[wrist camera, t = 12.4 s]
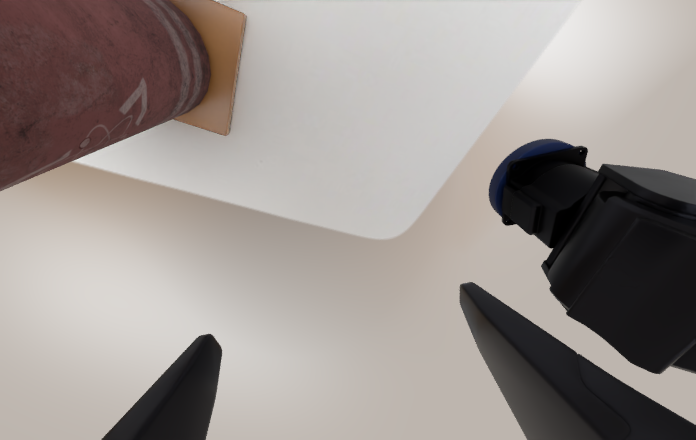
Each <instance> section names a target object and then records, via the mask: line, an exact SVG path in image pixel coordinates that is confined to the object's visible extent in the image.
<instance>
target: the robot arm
mask: <svg viewBox="0 0 696 440" xmlns="http://www.w3.org/2000/svg"><path fill="white" fill-rule="evenodd" d="M580 151H581V152H580ZM579 152H580V153H579ZM587 153H588V149H587V148H586V147H584V146H576V147H571V148H567V149H562V150H557V151H553V152H548V153H543V154H539V155H534V156H530V157H525V158H520V159H516V160H512V161H510V162H509V163H508V165H507V172H506V182H505V186H504V190H503V200H502V211H503V212H502V223H503V224H504V225H506V226H510V225H515V224H517V225H519V226H520V227H521V228H522V229H523V230H524V231H525V232H526V233H528V234H529V235H533V234H534V235H535V236H536V237H537V238H538V239H540V240H541V241H542V242H543V243H544V244H545V245H547V246H548V247H549V248H553V250H552V252H551V253H550V255H549V257H548V258H547V260H545V261H544V262H543V264H542V265H541V267H542V269H543V271H544V273H545V274H546V277H547V279H548V280H549V282H550V284H551V287H550V291H551V293H552V294H553V295H554V296H555V297H556V299H557V300H558V301H559V302H560V303H561V304H562V306H563V307H564V308H565V309H566V310H567V312H566V314H567V315H568V316H569V317H571V318H573V319H575V320H576V321H578V322H580V323H582V324H584V325H585V326H587V327H588V328H590V329H591V330H592V331H594V332H595V333H597V334H598V335H600V336H601V337H602V338H603V339H605V340H606V341H607V342H608V343H609V344H610V345H611V346H612V347H614V348H615V349H616V350H617V351H618V352H619V353H620V354H621V355H622V356H624V357H625V358H626V359H627V360H628V361H629V362H630V363H632V364H634V365H636V366H638V367H641V368H643V369H645V370H647V371H649V372H652V373H655V374H661V373H662V372H664V371H665V370H666V369H667V368H668V367H669V366H672V367H675V368H678V369H682V370H685V371H689V372H692V373H695V374H696V179H693V178H689V177H686V176H682V175H679V174H675V173H671V172H668V171H665V170H658V169H649V168H639V167H629V166H620V165H610V164H602V166H601V168H600V169H599V171H598V172H597V171H595V170H593V169H590V168H588V167H586V166H584V165H585V161H586V157H587ZM515 164H516V166H515V167H514V168H513V166H514V165H515ZM507 220H508V221H507ZM460 305H461V308H462V310H463V313H464V315H465V317H466V320H467V322H468V325H469V327H470V329H471V332H472V335H473V337H474V339H475V342H476V344H477V347H478V349H479V351H480V353H481V355H482V357H483V358H484V360H485V362H486V364H487V366H488V368H489V370H490V371H491V373H492V375H493V377H494V379H495V381H496V383H497V384H498V386H499V388H500V390H501V392H502V394H503V395H504V397H505V399H506V401H507V403H508V405H509V407H510V408H511V410H512V412H513V414H514V416H515V418H516V419H517V421H518V423H519V425H520V427H521V429H522V431H523V432H524V434H525V436H526V438H527V440H696V425H694V424H693V423H691V422H689V421H688V420H686V419H684V418H682V417H681V416H679V415H677V414H676V413H674V412H672V411H671V410H669V409H667V408H665V407H664V406H662V405H660V404H659V403H657V402H655V401H653V400H652V399H650V398H648V397H647V396H645V395H643V394H641V393H640V392H638V391H636V390H634V389H633V388H631V387H630V386H628V385H626V384H625V383H623V382H621V381H620V380H618V379H616V378H615V377H613V376H612V375H610V374H609V373H607V372H606V371H604V370H603V369H601V368H600V367H598V366H596V365H595V364H593V363H592V362H590V361H589V360H587V359H586V358H584V357H583V356H582V355H580V354H577V353H576V352H575V351H574V350H572V349H571V348H569V347H568V346H567V345H565V344H564V343H562V342H561V341H559V340H558V339H556V338H554V337H553V336H552V335H550V334H549V333H547V332H546V331H544V330H543V329H541V328H540V327H538V326H537V325H535V324H534V323H532V322H531V321H529V320H528V319H527V318H525V317H523V316H522V315H520V314H519V313H518V312H516V311H515V310H513V309H512V308H510V307H509V306H507V305H506V304H504V303H503V302H501V301H500V300H498V299H497V298H495V297H494V296H492V295H491V294H489V293H488V292H486V291H485V290H483V289H482V288H481V287H479V286H478V285H476V284H475V283H473V282H469V283H464V284H461V285H460ZM221 357H222V349H221V346H220V345H219V343H218V342H217V341H216V339H215V338H214V337H213V335H211V334H206V335H201V336H199V337H198V338H196V340H195V341H194V342H193V343H192V344H191V345H190V346H189V347H188V348H187V349H186V350H185V352H183V353H182V354H181V355H180V357H179V358H178V359H177V360H176V361H175V362H174V363H173V364H172V365H171V366H170V367H169V368H168V369H167V370H166V371H165V372H164V374H163V375H162V376H161V377H160V378H159V379H158V380H157V381H156V382H155V383H154V384H153V385H152V387H151V388H149V389H148V391H147V392H146V393H145V394H144V395H143V396H142V397H141V398H140V399H139V400H138V401H137V402H136V403H135V404H134V405H133V407H132V408H131V409H130V410H129V411H128V412H127V413H126V414H125V415H124V416H123V417H122V418H121V419H120V420H119V422H118V423H117V424H116V425H115V426H114V427H113V428H112V429H111V430H110V431H109V432H108V433H107V434H106V435H105V436H104V438H102V440H206V436H207V431H208V427H209V423H210V419H211V415H212V411H213V407H214V402H215V397H216V392H217V385H218V378H219V371H220V363H221Z"/></svg>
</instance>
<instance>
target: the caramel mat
mask: <svg viewBox="0 0 696 440" xmlns="http://www.w3.org/2000/svg"><path fill="white" fill-rule="evenodd" d="M169 1H171V2H172V3H173V4H174V5H175V6H176V7H177V8H179V9H180V10H181V11H182V12H183V13H184V14H185V15H187V17H188V18H189V19H190V21H191V22H192V24H193V25H194V26H195V28H196V29H197V31H198V32H199V33H200V35H201V37H202V40H203V42H204V45H205V47H206V50H207V52H208V55H209V62H210V70H211V77H210V83H209V88H208V92H207V93H206V95H205V97H204V98H203V100H202V101H201V103H200V104H199V105H198V106H196V107H195V108H194V109H192V110H191V111H189V112H188V113H186V114H183V115H181V116H178V117H176V118H174V120H177V121H180V122H183V123H187V124H190V125H193V126H196V127H199V128H202V129H205V130H209V131H212V132H215V133H218V134H221V135H224V136H227V135H228V134H229V129H230V122H231V116H232V109H233V102H234V96H235V89H236V82H237V75H238V69H239V62H240V55H241V49H242V42H243V35H244V29H245V22H246V15H245V14H244V13H241V12H239V11H236V10H234V9H232V8H229V7H227V6H225V5H222V4H220V3H218V2H215V1H213V0H169Z"/></svg>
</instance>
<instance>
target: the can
mask: <svg viewBox="0 0 696 440" xmlns="http://www.w3.org/2000/svg"><path fill="white" fill-rule="evenodd" d="M210 77H211V70H210V62H209V55H208V52H207V50H206V47H205V45H204V42H203V40H202V37H201V35H200V33H199V32H198V31H197V29H196V28H195V26H194V25H193V24H192V22H191V21H190V19H189V18H188V17H187V15H185V14H184V13H183V12H182V11H181V10H180V9H179V8H177V7H176V6H175V5H174V4H173V3H172V2H171V1H169V0H0V191H2V190H4V189H7V188H9V187H11V186H14V185H16V184H19V183H21V182H23V181H26V180H28V179H30V178H33V177H35V176H38V175H40V174H42V173H45V172H47V171H50V170H52V169H54V168H57V167H59V166H61V165H64V164H66V163H69V162H71V161H73V160H76V159H78V158H81V157H83V156H85V155H88V154H90V153H93V152H95V151H97V150H100V149H102V148H104V147H107V146H109V145H112V144H114V143H116V142H119V141H121V140H124V139H126V138H128V137H131V136H133V135H136V134H138V133H140V132H143V131H145V130H147V129H150V128H152V127H155V126H157V125H159V124H162V123H164V122H167V121H169V120H171V119H174V118H176V117H178V116H181V115H183V114H186V113H188V112H189V111H191V110H192V109H194V108H195V107H196V106H198V105H199V104H200V103H201V101H202V100H203V98H204V97H205V95H206V93H207V92H208V88H209V83H210Z"/></svg>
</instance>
